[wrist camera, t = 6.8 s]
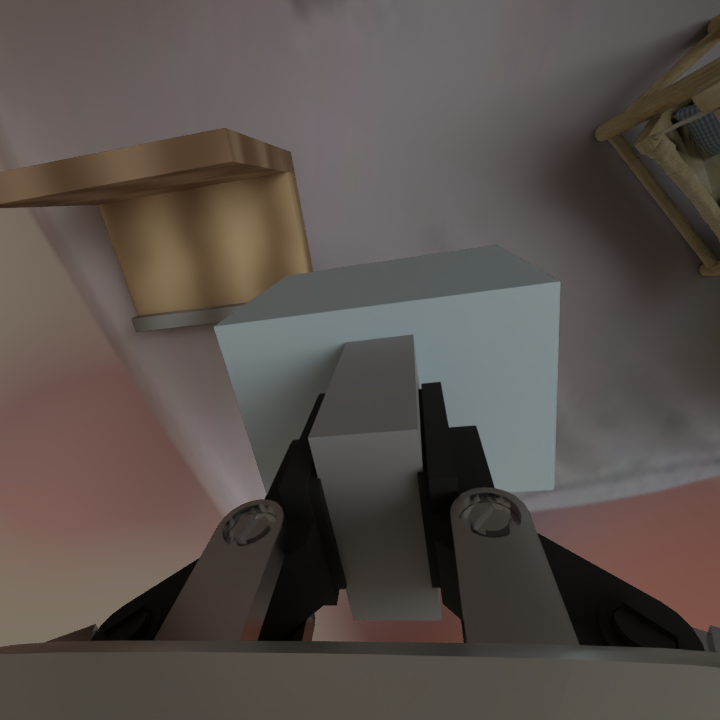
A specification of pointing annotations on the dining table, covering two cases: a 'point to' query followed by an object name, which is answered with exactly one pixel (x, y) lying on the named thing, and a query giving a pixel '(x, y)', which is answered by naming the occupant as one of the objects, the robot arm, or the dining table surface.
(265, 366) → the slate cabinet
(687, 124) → the swing bench
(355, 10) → the dining table surface
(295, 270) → the cleat board
